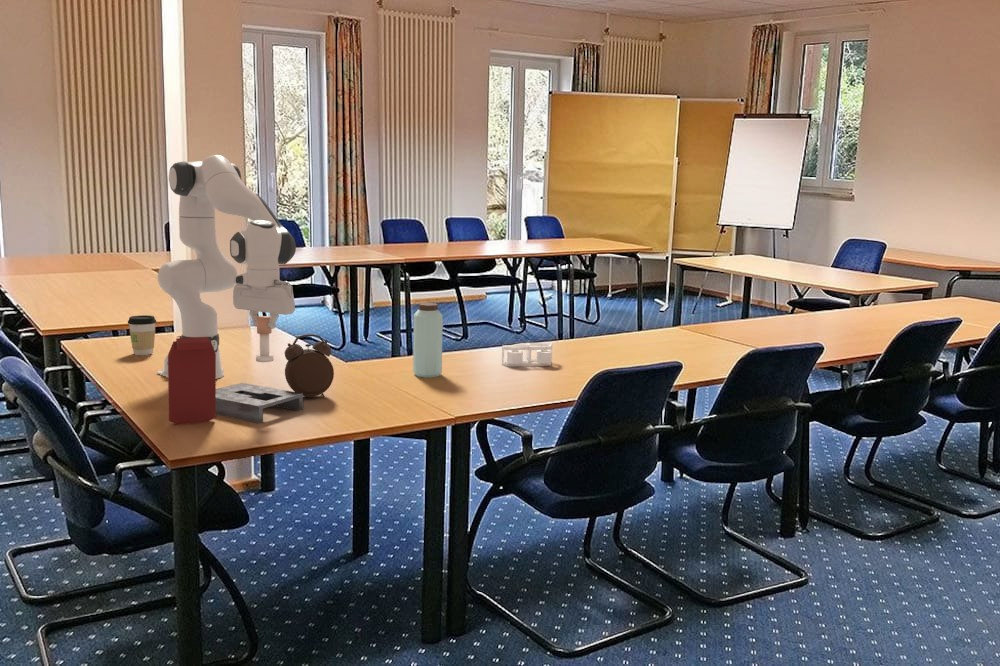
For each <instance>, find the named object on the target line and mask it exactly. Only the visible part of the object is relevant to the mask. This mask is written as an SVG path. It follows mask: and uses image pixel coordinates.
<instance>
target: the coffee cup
mask: <svg viewBox="0 0 1000 666" xmlns="http://www.w3.org/2000/svg"><path fill="white" fill-rule="evenodd" d="M156 323H157V319H156V318H155V316H154V315H147V314H145V315H144V314H142V315H132V316H130V317H129V318H128V320H127V324H128V326H129V335H130V341H131V342H130V343H131V347H132V351H133V355H134V354H135V355H134V356H137V355H146V356H149V355H148V354H152V353H153V354H154V347H155V340H156V339H155V337H156ZM153 354H152V355H153Z"/></svg>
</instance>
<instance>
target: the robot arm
mask: <svg viewBox="0 0 1000 666" xmlns="http://www.w3.org/2000/svg"><path fill="white" fill-rule="evenodd" d="M168 183H169V187H170V189H171V191H172V192H173V193H174V195H178V196H179V204H178V205H179V206H178V226H179V227H178V229H179V233H178V234H179V240H180V242H181V243H182V244H183V245H185V246H186V247H187V248H189V249H191V250H194V252H195V254H196V259H179V260H173V261H169V262H166V263H163V264H162V265H161V266H160V268H159V270H158V273H157V283H158V285H159V287H160V288H161V290H163V292H164V293H166V294H168V295H169V296H170V297H172V299H173V300H174V302H175V303H176V304H177V306H178V308H179V312H180V317H181V331H182V333H181V335H178V336H177V338H194V337H208V338H209V339H210V340H211V343H212V346H213V348H214V351H215V354H216V380H217V379H220V378H223V377H224V376H225V374H224V371H225V370H224V368H223V366H222V358H221V357H222V356H221V351H220V349H219V346H220V335H219V333H218V313H217V311H216V309H215V308H214V307H213V306H211V305H210V304H208V303H205V302H203V301H202V298H201V293H202V294H203V293H217V292H218V293H219V292H222V291H226V290H230V289H232V288H233V290H232V301H233V302H232V303H233V306H234V308H235V310H244V311H245V310H246V311H249V315H250V318H251V320H252V326H253V327H255V328H257V317H259V312H261V313H269V316H270V317H271V320H270V322H267V325H268V326H267V327H268V328H270V329H272V330H273V329H276V322H277V320H278V319H279V316H280V315H282V316H283V315H285V316H287V315H292V314H294V312H295V311H296V306H295V305H296V304H295V297H294V291H293V285H292V284H290V283H289V281H287V280H284V281H283V280H280V273H281V272H280V265H286V264H287V263H289V262H290V261H291V260H292V259H293V257H294V256H295V255H296V249H297V246H296V240H295V238H294V236H293V235H292V234H291V233H290V232H289V231H288V230H287V229H286V228H285V227H284V226H283V224H282V223H281V222H280V220H279V219H278V218H277V217H276V215H275V214H274V212H273V211H272V210H271V208H270V206H269V205H268V204H267V203H266V202H265V200H264V199H263V198H262V197H261V196H260V195H258V194H257V193H255V192H253V191H252V190H251V189H250V188H248V186H247V185H246V184H245V183H244V182H243V181H242V175H241V171H240V169H239V167H238V165H236V164H235V163H233V162H230V161H229V159H228V158H226V157H225V156H223V155H219V154H213V155H210V156H209V155H208V156H207V157H206V158H204V159H203V160H202V161H201V160H200V161H197V160H196V161H184V160H183V161H177V162H175V163H173V164H172V165H171V167H170V169H169V171H168ZM215 209H216V210H217V211H219V212H222V213H223V214H227V215H233V216H238V217H242V218H243V217H244V218H246V219H249V220H250V221H249V222H248V223H247V226H246V228H245V229H243V230H240V231H237V232H236V233H234V234H233V236H232V237H231V238H230V240H229V251H230V252H229V253H230V257H231V258H232V259H233V260H234V261H235V262H237V263H238V264H241V265H247V267H246V272H244V273H241V274H238V270H237V267H236V266H235V264H234V263H233V261H231V260H229V258H227V257H226V256H225V254H224V253H223V252H222V251H221V250H222V249H220V246H219V244H218V241H217V233H216V232H217V230H216V212H215ZM163 362H164V363H163V365H164V366H163V367H164V368H163V369H159V370H158V371H157V372H156V375H157V374H160V375H163V376H166V377H168V354H167V355H166V356H165V358H164V361H163ZM160 375H159V376H160ZM163 376H162V377H163ZM166 377H165V378H166Z"/></svg>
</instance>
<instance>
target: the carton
mask: <svg viewBox="0 0 1000 666" xmlns="http://www.w3.org/2000/svg"><path fill="white" fill-rule="evenodd" d="M167 355H168V378H167V381H168V382H167V387H168V391H167V392H168V396H167V397H168V421H169V422H170V423H172V424H174V425H187V424H188V425H189V424H198V423H199V424H201V423H208V422H210V421H212V420H213V419H215V418H216V415H217V414H216V389H217V387H216V386H217V385H216V384H217V383H216V382H217V381H216V380H217V379H216V354H215V351H214V348H213V346H212V343H211V340H210V339H209V338H208V337H194V338H180V337H176V338H175V341H173V342H172V343H171V347H170V349H169V352H168V354H167Z"/></svg>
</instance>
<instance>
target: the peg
mask: <svg viewBox="0 0 1000 666" xmlns="http://www.w3.org/2000/svg"><path fill="white" fill-rule="evenodd" d="M270 320H271V317H270V315H269V316H268V315H260V316H259V315H258V317H257V327H256V334H259V354H256V356H255V362H258V363H270V362H274V354H273V353H272V354H271V353H270V334H272V331H273V329H270V328H268V327H267V326H268V325H267V322H270Z"/></svg>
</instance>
